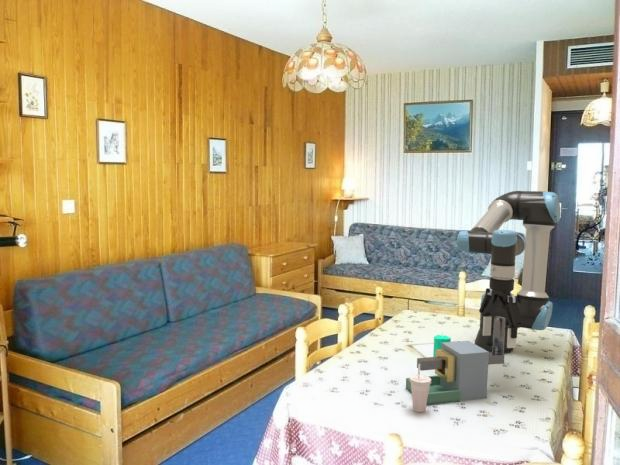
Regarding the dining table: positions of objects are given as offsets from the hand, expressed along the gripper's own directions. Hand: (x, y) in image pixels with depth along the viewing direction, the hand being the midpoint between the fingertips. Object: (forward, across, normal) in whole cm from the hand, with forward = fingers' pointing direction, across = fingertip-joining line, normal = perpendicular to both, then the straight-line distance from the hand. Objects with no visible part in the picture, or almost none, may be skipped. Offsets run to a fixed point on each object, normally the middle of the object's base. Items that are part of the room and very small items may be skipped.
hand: (498, 341), depth 180 cm
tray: (+16, 0, -23) cm, 28 cm away
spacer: (+7, 0, -19) cm, 20 cm away
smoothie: (+16, +9, -32) cm, 37 cm away
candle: (+16, -25, -6) cm, 31 cm away
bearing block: (+16, 0, -12) cm, 20 cm away
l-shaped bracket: (+7, 0, -13) cm, 15 cm away
